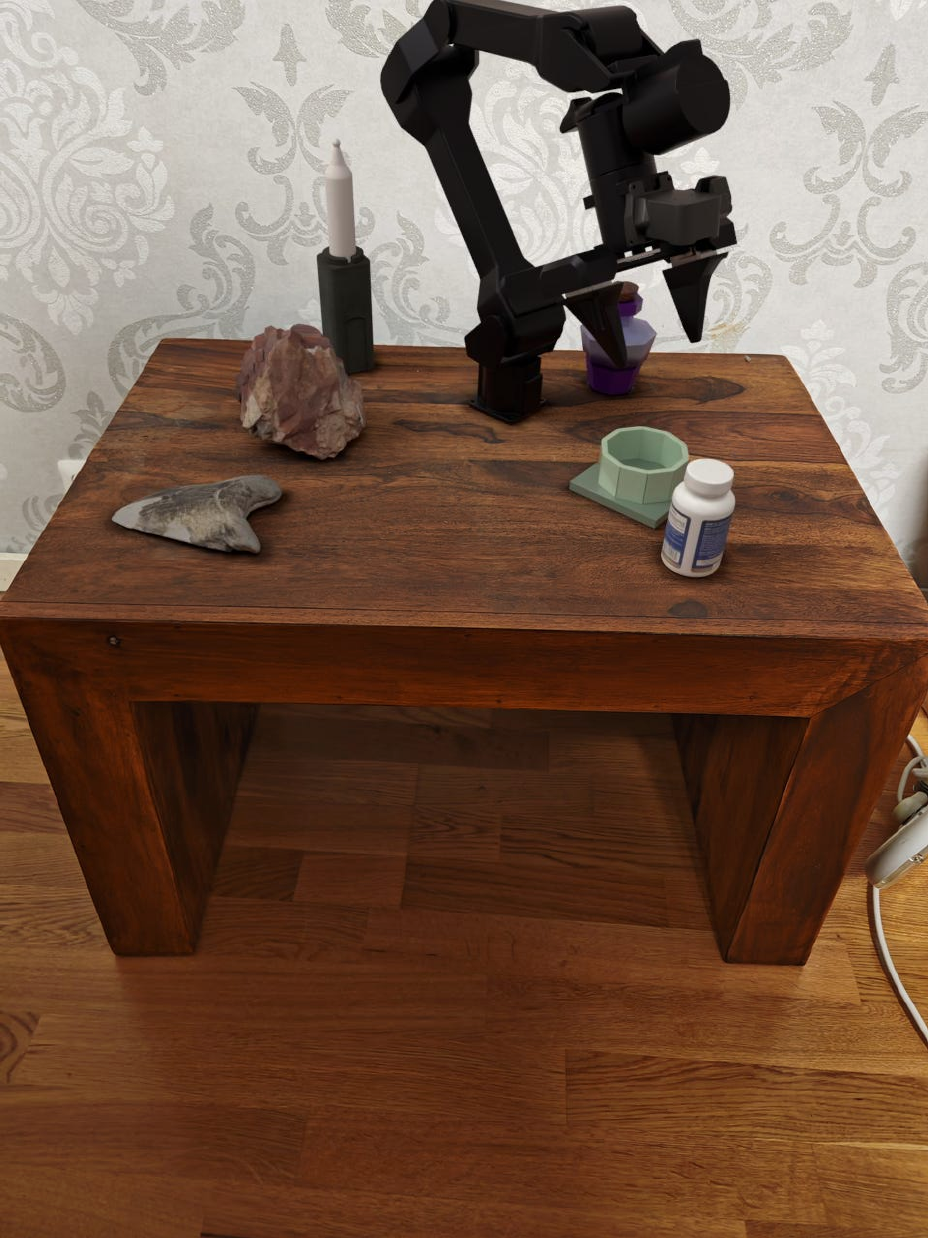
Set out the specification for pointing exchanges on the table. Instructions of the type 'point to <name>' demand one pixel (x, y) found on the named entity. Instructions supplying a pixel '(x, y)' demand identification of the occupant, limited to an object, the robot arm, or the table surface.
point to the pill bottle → (699, 519)
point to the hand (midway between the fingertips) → (660, 354)
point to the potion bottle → (638, 345)
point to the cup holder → (636, 473)
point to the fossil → (204, 512)
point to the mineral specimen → (299, 392)
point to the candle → (345, 274)
